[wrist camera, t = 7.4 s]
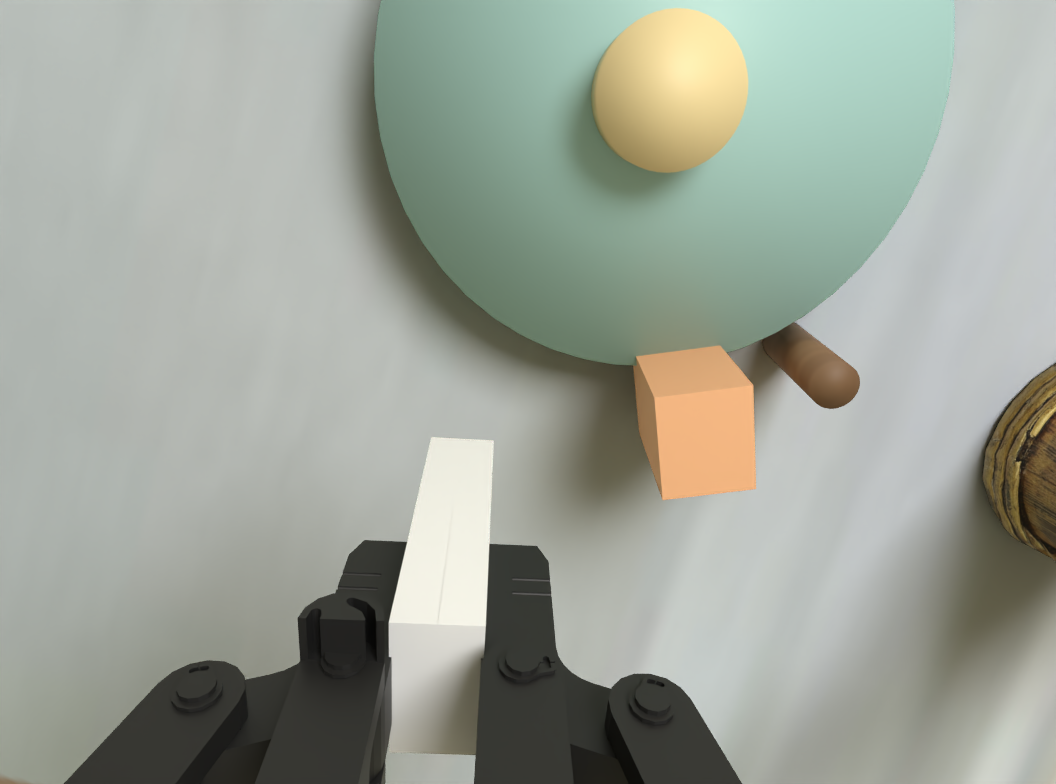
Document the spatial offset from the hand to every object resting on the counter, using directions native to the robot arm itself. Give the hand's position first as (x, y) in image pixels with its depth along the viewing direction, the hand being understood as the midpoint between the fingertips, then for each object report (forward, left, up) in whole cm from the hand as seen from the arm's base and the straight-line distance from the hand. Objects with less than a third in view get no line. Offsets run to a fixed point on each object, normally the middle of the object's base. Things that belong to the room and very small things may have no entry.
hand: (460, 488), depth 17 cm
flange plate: (+2, +10, -10) cm, 14 cm away
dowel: (+10, +6, -11) cm, 16 cm away
